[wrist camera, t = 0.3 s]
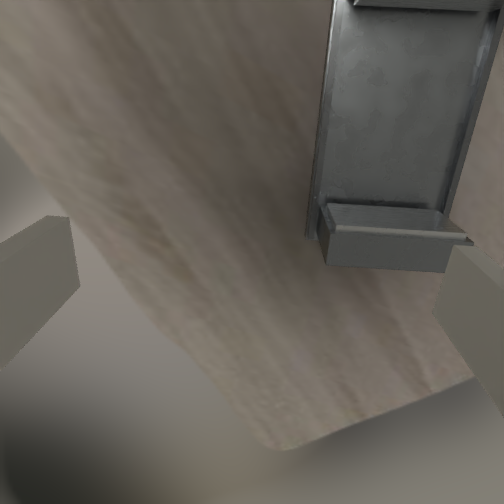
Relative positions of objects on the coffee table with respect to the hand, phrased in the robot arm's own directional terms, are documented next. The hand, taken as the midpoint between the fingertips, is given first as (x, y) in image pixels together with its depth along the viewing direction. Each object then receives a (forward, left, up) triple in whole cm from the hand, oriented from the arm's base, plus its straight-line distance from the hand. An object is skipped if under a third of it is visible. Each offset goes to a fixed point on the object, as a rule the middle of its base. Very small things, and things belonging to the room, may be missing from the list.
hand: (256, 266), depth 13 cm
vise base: (-4, +12, -27) cm, 30 cm away
